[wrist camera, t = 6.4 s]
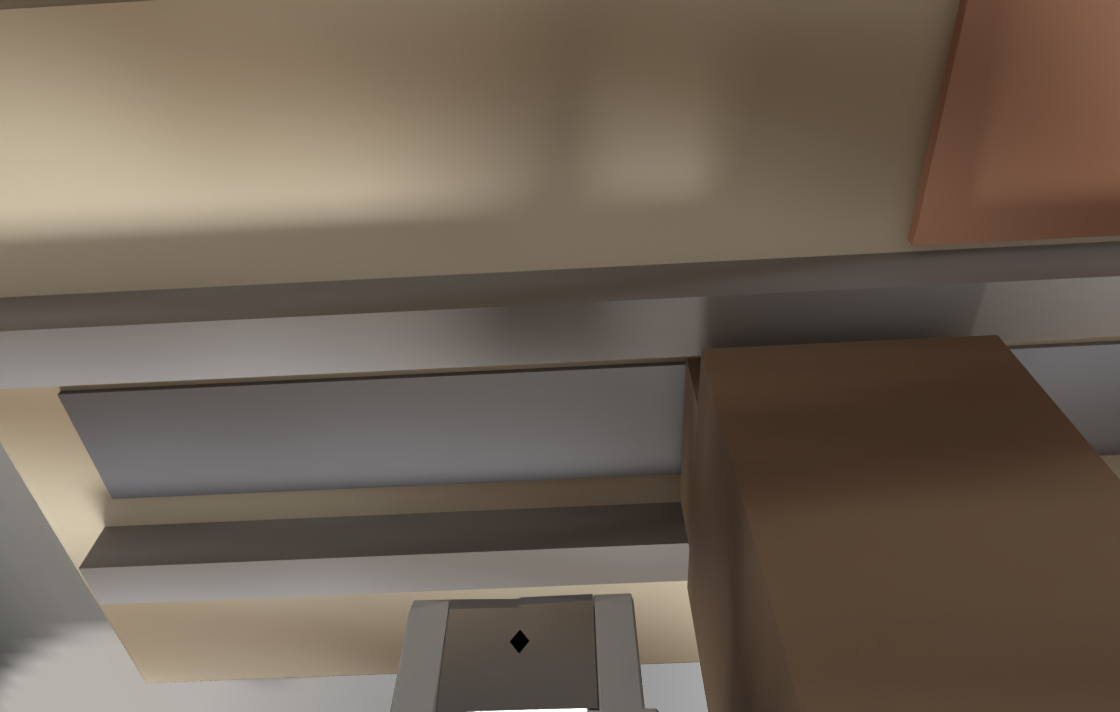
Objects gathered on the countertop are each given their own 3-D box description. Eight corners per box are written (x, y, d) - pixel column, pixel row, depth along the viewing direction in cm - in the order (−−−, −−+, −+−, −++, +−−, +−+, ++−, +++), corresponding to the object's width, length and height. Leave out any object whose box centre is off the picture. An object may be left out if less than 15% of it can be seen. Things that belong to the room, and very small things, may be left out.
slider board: (-137, -6, 11) (-327, 44, 9) (1570, -110, 11) (1870, -86, 8) (180, 609, 19) (126, 725, 17) (1172, 568, 19) (1265, 683, 16)
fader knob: (688, 303, 12) (827, 805, 6) (959, 290, 12) (1379, 785, 6) (678, 535, 15) (763, 1028, 9) (895, 525, 14) (1132, 1019, 9)
